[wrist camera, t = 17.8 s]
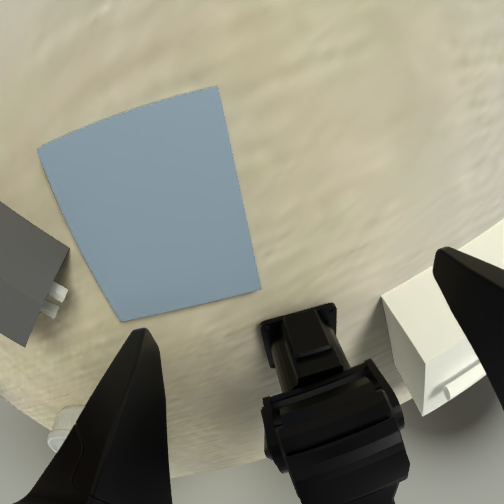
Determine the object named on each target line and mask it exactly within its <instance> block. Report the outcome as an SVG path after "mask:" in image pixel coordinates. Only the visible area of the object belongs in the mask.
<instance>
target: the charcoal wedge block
mask: <svg viewBox="0 0 504 504" xmlns="http://www.w3.org/2000/svg"><path fill="white" fill-rule="evenodd" d="M69 249H70V248H69V247H67V246H66V245H64V244H63V243H61V242H59V241H58V240H56V239H55V238H53V237H52V236H50V235H49V234H47V233H46V232H44V231H43V230H41V229H40V228H38V227H37V226H35V225H34V224H32V223H31V222H29V221H28V220H26V219H25V218H23V217H22V216H20V215H19V214H17V213H16V212H15V211H13V210H12V209H10V208H9V207H8V206H6V205H5V204H3V203H2V202H1V201H0V333H1V334H3V335H4V336H6V337H8V338H9V339H11V340H13V341H14V342H16V343H18V344H20V345H21V346H23V347H26V344H27V341H28V339H29V336H30V334H31V331H32V329H33V326H34V324H35V321H36V319H37V316H38V314H39V312H41V313H43V314H45V315H47V316H48V317H50V318H52V319H54V318H55V316H56V314H57V311H58V309H59V307H58V306H57V305H55V304H53V303H51V302H50V301H48V300H46V299H45V298H46V296H47V294H48V295H50V296H51V297H53V298H55V299H56V300H58V301H60V302H63V301H64V299H65V296H66V294H67V291H68V289H66V288H65V287H63V286H61V285H60V284H58V283H56V282H55V281H54V279H55V277H56V274H57V272H58V270H59V268H60V266H61V264H62V262H63V260H64V258H65V257H66V255H67V253H68V251H69Z"/></svg>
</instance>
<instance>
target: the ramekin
mask: <svg viewBox="0 0 504 504" xmlns="http://www.w3.org/2000/svg"><path fill="white" fill-rule="evenodd" d="M84 407H85V406H81V405H73V406H68V407H66V408H64V409H62V410H61V411H60V412H59V414H58V416H57V418H56V420H55V423H54V425H53V428H52V431H51V433H49V435H48V438H47V443H48V445H49V446H50V448H51V449H52V450H53V451H55V452H56V453H57V452H58V450H59V449H60V447H61V446H62V444H63V442H64V441H65V439H66V437H67V436H68V434H69V432H70V431H71V429H72V427H73V425H74V424H76V420H77V419H78V417H79V415H80V414H81V412H82V410H83V409H84Z"/></svg>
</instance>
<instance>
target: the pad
mask: <svg viewBox="0 0 504 504" xmlns="http://www.w3.org/2000/svg"><path fill="white" fill-rule="evenodd" d="M37 152H38V154H39V157H40V160H41V163H42V165H43V168H44V170H45V173H46V176H47V178H48V181H49V183H50V185H51V188H52V190H53V193H54V195H55V197H56V200H57V202H58V204H59V207H60V209H61V211H62V213H63V215H64V218H65V220H66V222H67V224H68V226H69V228H70V230H71V233H72V235H73V237H74V239H75V241H76V243H77V245H78V247H79V249H80V251H81V253H82V255H83V256H84V258H85V260H86V262H87V264H88V266H89V268H90V270H91V272H92V273H93V275H94V277H95V279H96V281H97V282H98V284H99V286H100V288H101V290H102V291H103V293H104V295H105V296H106V298H107V300H108V302H109V303H110V305H111V307H112V308H113V310H114V312H115V313H116V315H117V316H118V318H119V320H120V321H121V322H123V321H128V320H133V319H137V318H142V317H146V316H151V315H156V314H160V313H165V312H169V311H173V310H178V309H182V308H187V307H191V306H195V305H199V304H204V303H208V302H212V301H216V300H220V299H225V298H229V297H233V296H237V295H241V294H245V293H249V292H253V291H257V290H261V284H260V279H259V275H258V270H257V265H256V261H255V256H254V251H253V247H252V242H251V237H250V233H249V228H248V223H247V219H246V214H245V209H244V205H243V200H242V195H241V191H240V186H239V181H238V177H237V172H236V168H235V163H234V158H233V154H232V149H231V144H230V140H229V135H228V130H227V126H226V121H225V116H224V112H223V107H222V103H221V98H220V93H219V89H218V86H214V87H209V88H205V89H201V90H197V91H193V92H189V93H185V94H181V95H177V96H174V97H170V98H167V99H163V100H160V101H156V102H153V103H150V104H147V105H143V106H140V107H137V108H134V109H131V110H128V111H125V112H122V113H119V114H117V115H114V116H111V117H108V118H106V119H103V120H100V121H98V122H95V123H93V124H90V125H88V126H85V127H83V128H80V129H78V130H75V131H73V132H71V133H68V134H66V135H64V136H62V137H59V138H57V139H55V140H53V141H51V142H48V143H46V144H44V145H42V146H41V147H39V148H38V149H37Z"/></svg>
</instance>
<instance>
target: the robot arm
mask: <svg viewBox="0 0 504 504" xmlns="http://www.w3.org/2000/svg"><path fill="white" fill-rule="evenodd" d="M432 271H433V276H434V278H435V280H436V282H437V284H438V286H439V288H440V290H441V292H442V294H443V296H444V298H445V300H446V302H447V304H448V306H449V308H450V310H451V312H452V314H453V315H454V317H455V319H456V321H457V322H458V324H459V326H460V327H461V329H462V331H463V332H464V334H465V336H466V338H467V339H468V341H469V343H470V345H471V346H472V348H473V350H474V352H475V354H476V355H477V357H478V359H479V361H480V363H481V365H482V367H483V369H484V371H485V373H486V374H487V376H488V378H489V380H490V382H491V384H492V386H493V389H494V391H495V392H496V395H497V397H498V399H499V401H500V403H501V405H502V408H503V410H504V269H502V268H499V267H497V266H495V265H492V264H490V263H488V262H485V261H483V260H480V259H478V258H476V257H473V256H471V255H468V254H466V253H463V252H461V251H458V250H456V249H453V248H451V247H443V248H440V249H438V250H437V252H436V255H435V260H434V264H433V270H432ZM330 308H331V309H330ZM336 317H337V308H336V306H335V304H334V303H328V304H324V305H321V306H317V307H314V308H310V309H307V310H303V311H299V312H296V313H292V314H288V315H285V316H281V317H277V318H273V319H269V320H266V321H263V322H261V324H260V329H261V333H262V337H263V341H264V345H265V349H266V353H267V357H268V361H269V365H270V368H276V371H277V375H278V378H279V382H280V385H281V389H282V392H283V393H281V394H278V395H275V396H272V397H270V396H268V397H265V398H263V405H264V407H262V410H261V414H262V418H263V423H264V430H265V437H264V452H265V455H266V457H267V458H269V459H271V460H273V461H274V463H275V464H276V465H277V467H278V469H279V471H280V472H281V473H282V474H283V473H287V472H289V474H290V477H291V479H292V482H293V485H294V487H295V490H296V493H297V495H298V497H299V498H300V500H301V503H302V504H395V502H394V496H395V494H396V491H397V488H398V485H399V482H401V481H403V480H405V479H406V478H407V477H408V472H409V467H410V462H409V459H408V456H407V454H406V450H405V447H404V443H403V440H402V436H401V433H400V430H402V429H403V428H404V417H403V413H402V409H401V407H400V404H399V401H398V399H397V397H396V395H395V393H394V392H393V390H392V388H391V387H390V386H389V384H388V383H387V381H386V380H385V378H384V377H383V375H382V374H381V372H380V371H379V370H378V368H377V367H376V365H375V364H374V362H373V361H372V359H371V358H370V359H368V360H366V361H364V363H361V364H359V365H357V366H354V367H352V368H351V367H350V365H349V363H348V361H347V359H346V357H345V354H344V352H343V350H342V348H341V346H340V344H339V342H338V340H337V337H336ZM265 326H267V327H265ZM13 504H172V496H171V485H170V473H169V459H168V443H167V421H166V398H165V389H164V382H163V375H162V367H161V358H160V351H159V347H158V345H157V343H156V342H155V340H154V338H153V337H152V335H151V333H150V332H149V330H148V329H147V328H140V329H136V330H133V331H132V332H131V334H130V335H129V337H128V338H127V340H126V341H125V343H124V344H123V346H122V348H121V349H120V351H119V352H118V354H117V355H116V357H115V358H114V360H113V362H112V363H111V365H110V366H109V368H108V369H107V371H106V373H105V374H104V376H103V377H102V379H101V381H100V382H99V384H98V386H97V387H96V389H95V390H94V392H93V394H92V395H91V397H90V399H89V400H88V402H87V404H86V405H85V407H84V409H83V410H82V412H81V414H80V415H79V417H78V419H77V420H76V424H74V425H73V427H72V429H71V431H70V432H69V434H68V436H67V437H66V439H65V441H64V442H63V444H62V446H61V447H60V449H59V450H58V452H57V453H56V455H55V456H54V458H53V459H52V461H51V462H50V464H49V465H48V467H47V468H46V470H45V471H44V473H43V474H42V475H41V477H40V478H39V480H38V481H37V482H36V484H35V485H34V487H33V488H32V490H31V491H30V492H29V493H28V494H27V495H26V496H25V497H24V498H23V499H21V500H20V501H18V502H16V503H13Z"/></svg>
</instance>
